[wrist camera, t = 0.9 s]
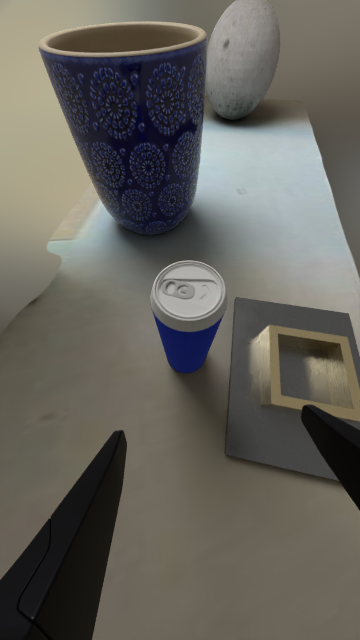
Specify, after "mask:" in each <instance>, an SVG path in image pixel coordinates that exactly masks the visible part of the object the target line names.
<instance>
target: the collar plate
mask: <svg viewBox="0 0 360 640" xmlns="http://www.w3.org/2000/svg"><path fill="white" fill-rule="evenodd" d="M309 404H312V405H314V406H316V407H318V408H320V409H322V410H324V411H325V412H327V413H329V414H331V415H333V416H335V417H337V418H338V419H340V420H342V421H344V422H346V423H348V424H350V425H351V426H353V427H355V428H357V429H359V430H360V357H359V353H358V349H357V345H356V341H355V337H354V333H353V329H352V325H351V321H350V317H349V314H348V313H341V312H334V311H327V310H320V309H314V308H307V307H300V306H293V305H286V304H279V303H272V302H265V301H259V300H252V299H245V298H238V297H236V299H235V305H234V320H233V335H232V350H231V365H230V380H229V395H228V410H227V425H226V440H225V454H226V455H229V456H233V457H238V458H242V459H246V460H251V461H255V462H259V463H264V464H268V465H272V466H277V467H281V468H285V469H290V470H294V471H298V472H303V473H307V474H311V475H316V476H320V477H324V478H329V479H333V480H337V481H339V480H338V478H337V477H336V476H335V474H334V473H333V471H332V470H331V468H330V467H329V466H328V464H327V463H326V461H325V460H324V458H323V457H322V455H321V454H320V452H319V450H318V449H317V447H316V445H315V444H314V442H313V440H312V439H311V437H310V435H309V433H308V432H307V430H306V428H305V427H304V425H303V423H302V421H301V413H302V407H303V406H304V405H309Z"/></svg>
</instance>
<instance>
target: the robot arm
mask: <svg viewBox="0 0 360 640" xmlns="http://www.w3.org/2000/svg"><path fill="white" fill-rule="evenodd" d="M301 421H302V423H303V425H304V427H305V428H306V430H307V432H308V433H309V435H310V437H311V439H312V440H313V442H314V444H315V445H316V447H317V449H318V450H319V452H320V454H321V455H322V457H323V458H324V460H325V461H326V463H327V464H328V466H329V467H330V468H331V470H332V471H333V473H334V474H335V476H336V477H337V478H338V480H339V481H340V483H341V484H342V486H343V487H344V489H345V490H346V491H347V493H348V494H349V496H350V497H351V499H352V500H353V501H354V503H355V504H356V506H357V507H358V509H359V510H360V430H359V429H357V428H355V427H353V426H351V425H350V424H348V423H346V422H344V421H342V420H340V419H338V418H337V417H335V416H333V415H331V414H329V413H327V412H325V411H324V410H322V409H320V408H318V407H316V406H314V405H312V404H309V405H304V406H303V407H302V413H301ZM126 450H127V441H126V438H125V434H124V431H123V430H119V431H115V432H113V434H112V435H111V436H110V438H109V439H108V440H107V442H106V443H105V444H104V446H103V447H102V448H101V450H100V451H99V452H98V454H97V455H96V456H95V458H94V459H93V460H92V462H91V463H90V464H89V466H88V467H87V469H86V470H85V471H84V473H83V474H82V475H81V477H80V478H79V479H78V481H77V482H76V483H75V485H74V486H73V487H72V489H71V490H70V491H69V493H68V494H67V495H66V497H65V498H64V499H63V501H62V502H61V503H60V505H59V506H58V507H57V509H56V510H55V511H54V513H53V514H52V515H51V519H48V521H47V522H46V523H45V525H44V526H43V527H42V529H41V530H40V531H39V532H38V534H37V535H36V536H35V538H34V539H33V540H32V542H31V543H30V544H29V545H28V547H27V548H26V549H25V551H24V552H23V553H22V554H21V556H20V557H19V558H18V559H17V560H16V562H15V563H14V564H13V565H12V567H11V568H10V569H9V570H8V571H7V573H6V574H5V575H4V576H3V578H2V579H1V580H0V640H92V637H93V632H94V627H95V622H96V617H97V612H98V607H99V602H100V597H101V592H102V587H103V582H104V577H105V572H106V567H107V562H108V557H109V552H110V547H111V542H112V537H113V532H114V527H115V522H116V517H117V512H118V507H119V502H120V497H121V492H122V486H123V478H124V469H125V460H126Z"/></svg>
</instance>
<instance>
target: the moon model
mask: <svg viewBox="0 0 360 640" xmlns="http://www.w3.org/2000/svg"><path fill="white" fill-rule="evenodd" d="M279 52H280V32H279V25H278V21H277V18H276V15H275V12H274V11H273V9H272V7H271V5H270V4H269V3H268V2H267V1H266V0H236V1H235V2H234V3H232V4H231V5H230V6H229V7H228V8H227V9H226V11H225V12H224V13H223V14H222V16H221V18H220V19H219V21H218V22H217V24H216V26H215V29H214V30H213V33H212V35H211V38H210V41H209V45H208V48H207V65H206V83H205V88H206V92H207V96H208V99H209V102H210V104H211V106H212V107H213V109H214V110H215V111H216V112H217V113H218V114H219V115H220V116H222V117H223V118H226V119H231V120H234V119H239V118H242V117H244V116H246V115H248V114H249V113H250V112H252V111H253V110H254V109H255V108H256V107H257V106H258V105H259V103H260V102H261V101H262V99H263V98H264V96H265V95H266V93H267V91H268V89H269V87H270V85H271V83H272V80H273V78H274V75H275V72H276V68H277V63H278V59H279Z"/></svg>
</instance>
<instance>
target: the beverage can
mask: <svg viewBox="0 0 360 640" xmlns="http://www.w3.org/2000/svg"><path fill="white" fill-rule="evenodd" d="M150 303H151V308H152V311H153V314H154V317H155V321H156V324H157V327H158V330H159V334H160V337H161V340H162V343H163V347H164V350H165V353H166V356H167V359H168V362H169V364H170V365H171V367H172V368H173V369H175V370H176V371H178V372H181V373H192V372H194V371H196V370H198V369H199V368H200V367H201V366H202V365H203V363H204V361H205V358H206V356H207V353H208V351H209V349H210V346H211V344H212V341H213V339H214V336H215V334H216V332H217V329H218V327H219V324H220V322H221V319H222V317H223V315H224V312H225V310H226V306H227V293H226V288H225V284H224V281H223V279H222V277H221V276H220V274H219V273H218V272H217V271H216V270H215V269H214V268H212V267H211V266H209V265H207V264H205V263H202V262H198V261H190V260H188V261H180V262H176V263H173V264H171V265H169V266H167V267H166V268H164V269H163V270H162V271H161V272H160V273H159V274H158V276H157V277H156V279H155V281H154V284H153V287H152V291H151V296H150Z"/></svg>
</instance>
